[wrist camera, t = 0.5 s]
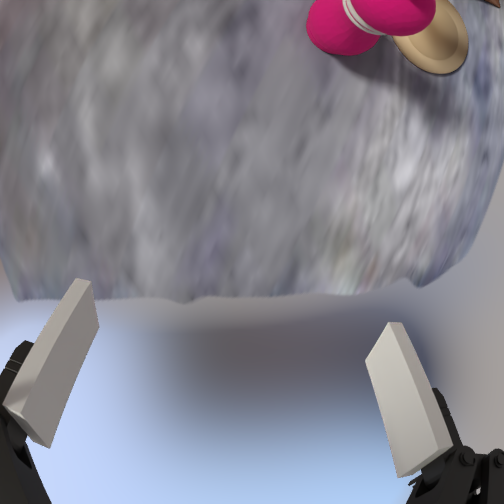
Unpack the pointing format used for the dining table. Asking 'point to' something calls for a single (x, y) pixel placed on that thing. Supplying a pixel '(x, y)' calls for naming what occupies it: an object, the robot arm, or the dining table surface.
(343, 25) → the pepper mill
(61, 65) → the dining table surface
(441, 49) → the coaster
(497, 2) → the sunglasses case
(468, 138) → the dining table surface
